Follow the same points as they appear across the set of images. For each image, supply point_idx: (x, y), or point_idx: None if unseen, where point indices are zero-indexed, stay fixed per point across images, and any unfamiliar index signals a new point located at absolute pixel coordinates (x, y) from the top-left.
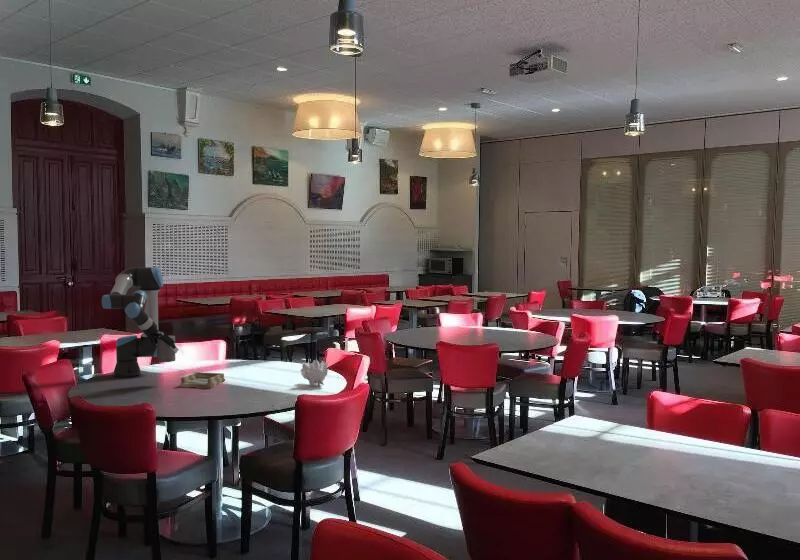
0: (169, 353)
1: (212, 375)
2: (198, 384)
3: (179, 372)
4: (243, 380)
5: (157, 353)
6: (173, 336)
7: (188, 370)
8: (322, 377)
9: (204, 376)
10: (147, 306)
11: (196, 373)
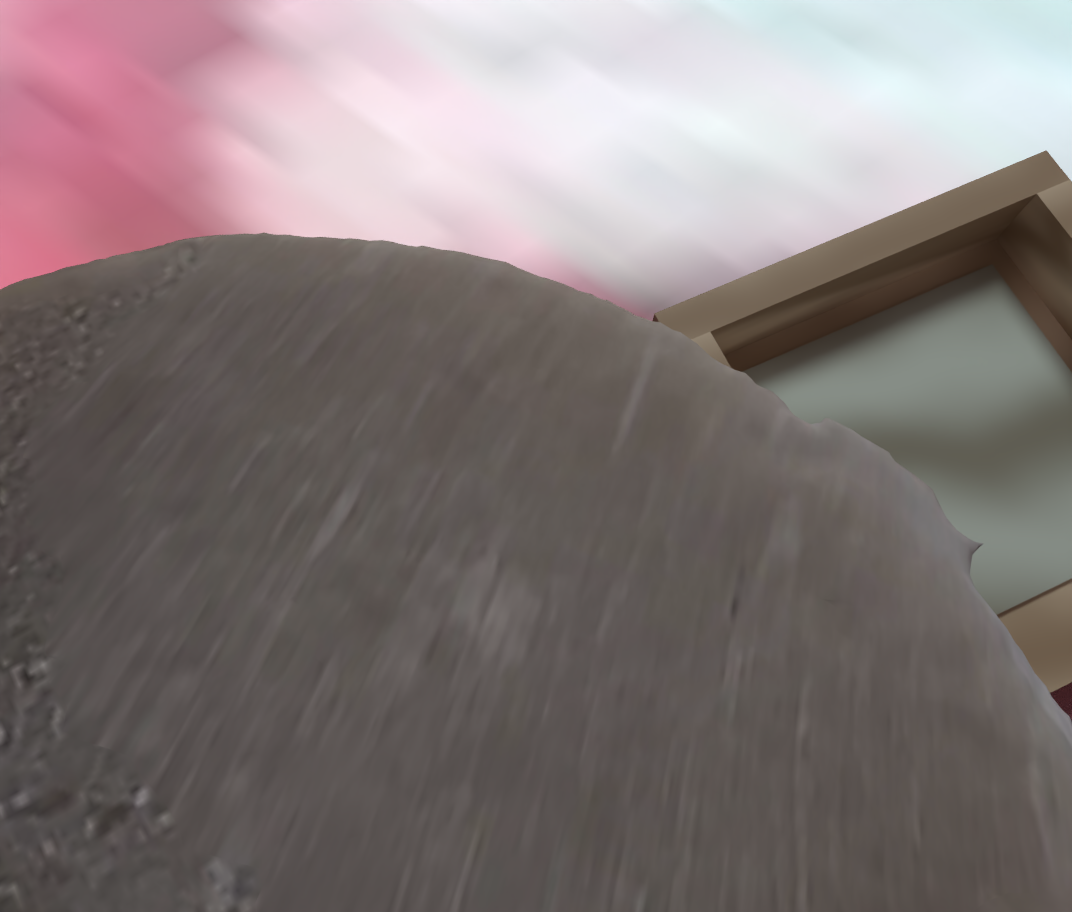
0: None
1: (917, 256)
2: None
3: (21, 161)
4: (1056, 51)
5: None
6: (723, 505)
7: (33, 39)
8: None
9: (800, 311)
10: None
11: (722, 356)
